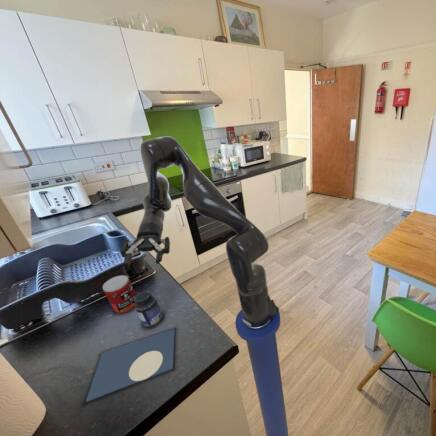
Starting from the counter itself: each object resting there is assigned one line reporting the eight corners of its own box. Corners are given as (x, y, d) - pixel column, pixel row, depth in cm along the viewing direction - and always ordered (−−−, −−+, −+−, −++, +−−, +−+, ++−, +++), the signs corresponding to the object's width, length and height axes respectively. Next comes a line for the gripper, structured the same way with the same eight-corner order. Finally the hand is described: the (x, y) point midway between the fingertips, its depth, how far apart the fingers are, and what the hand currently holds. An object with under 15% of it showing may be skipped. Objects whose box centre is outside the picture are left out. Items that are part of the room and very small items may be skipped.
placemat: (175, 329, 77) (174, 328, 77) (173, 369, 65) (172, 368, 65) (102, 353, 71) (101, 352, 70) (86, 403, 59) (85, 402, 58)
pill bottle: (164, 311, 84) (154, 287, 79) (161, 324, 79) (151, 300, 74) (145, 316, 82) (134, 292, 78) (141, 330, 77) (129, 305, 72)
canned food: (121, 317, 83) (108, 293, 78) (110, 308, 87) (97, 285, 82) (143, 302, 88) (132, 279, 83) (132, 295, 92) (121, 272, 87)
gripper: (126, 222, 84) (113, 258, 72) (170, 220, 88) (165, 253, 76) (131, 237, 89) (120, 273, 77) (173, 235, 93) (168, 268, 81)
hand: (142, 263), depth 77 cm, fingers open, 8 cm apart
